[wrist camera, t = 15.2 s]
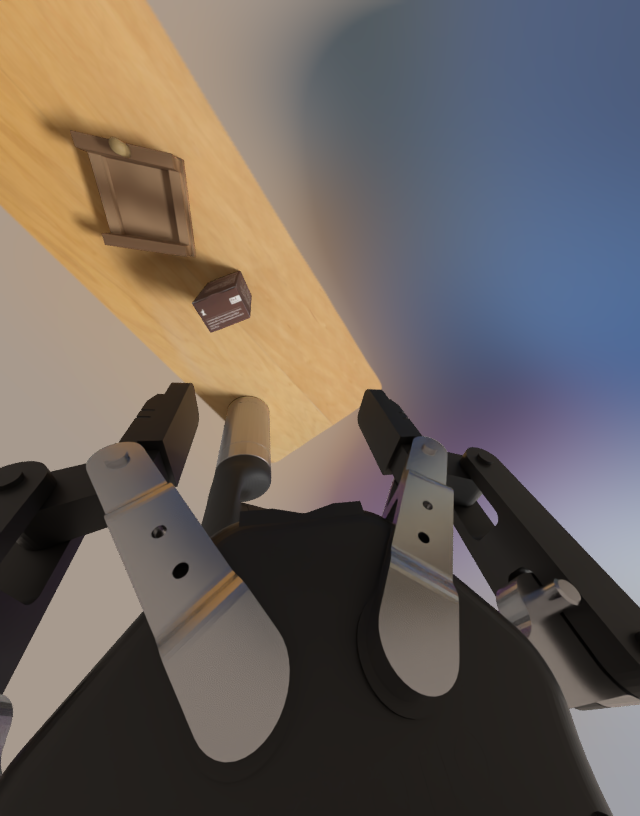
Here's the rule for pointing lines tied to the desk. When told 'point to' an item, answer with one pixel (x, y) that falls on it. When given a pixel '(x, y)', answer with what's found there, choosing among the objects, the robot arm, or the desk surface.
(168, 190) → the drawer
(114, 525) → the robot arm
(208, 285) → the box
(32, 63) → the desk surface
